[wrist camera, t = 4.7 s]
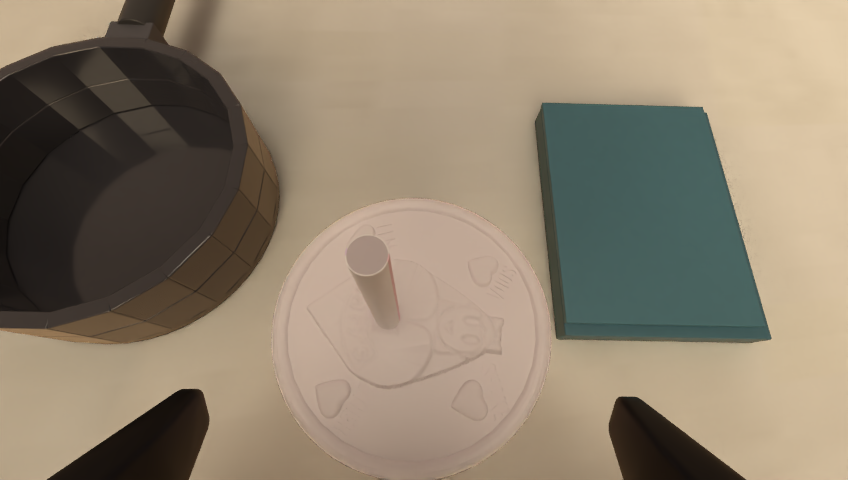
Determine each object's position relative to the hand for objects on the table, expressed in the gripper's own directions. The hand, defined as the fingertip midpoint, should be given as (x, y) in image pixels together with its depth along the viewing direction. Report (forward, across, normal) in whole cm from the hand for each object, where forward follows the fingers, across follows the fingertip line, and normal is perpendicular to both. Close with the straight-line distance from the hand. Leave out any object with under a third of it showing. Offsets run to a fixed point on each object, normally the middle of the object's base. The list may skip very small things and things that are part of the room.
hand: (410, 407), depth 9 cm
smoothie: (+8, 0, +5) cm, 10 cm away
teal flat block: (+13, -11, 0) cm, 17 cm away
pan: (+13, +14, 0) cm, 19 cm away
